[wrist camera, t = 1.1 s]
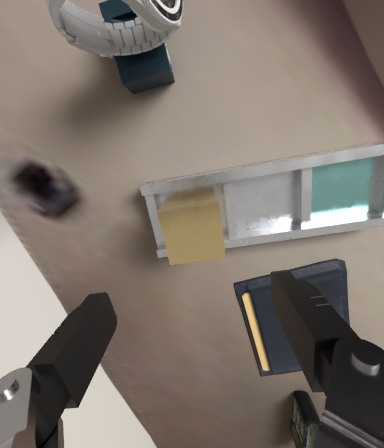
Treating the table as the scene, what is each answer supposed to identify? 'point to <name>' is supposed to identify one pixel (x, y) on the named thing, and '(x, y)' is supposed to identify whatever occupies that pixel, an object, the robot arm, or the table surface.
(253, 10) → the table surface
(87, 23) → the watch
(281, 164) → the tray with compartments
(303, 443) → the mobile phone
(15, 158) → the table surface
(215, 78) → the table surface
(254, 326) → the dark blue notebook
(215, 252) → the tan block
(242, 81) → the table surface
